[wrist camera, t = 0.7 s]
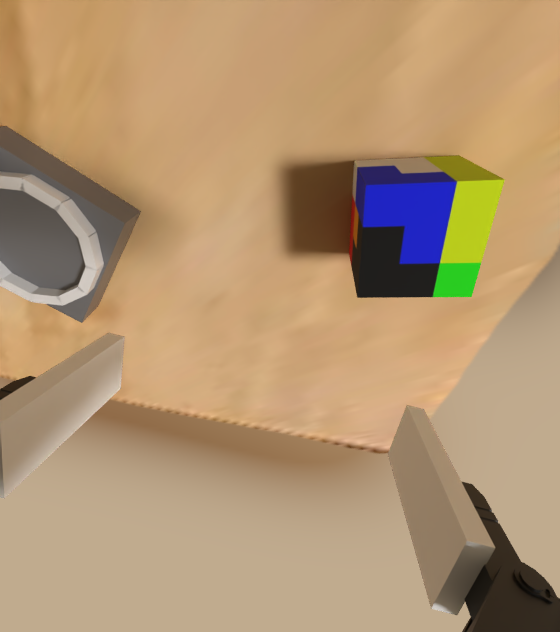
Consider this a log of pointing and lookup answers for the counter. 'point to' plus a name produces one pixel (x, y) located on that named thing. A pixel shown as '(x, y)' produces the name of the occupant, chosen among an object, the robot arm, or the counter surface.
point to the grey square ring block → (57, 229)
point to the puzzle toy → (420, 225)
